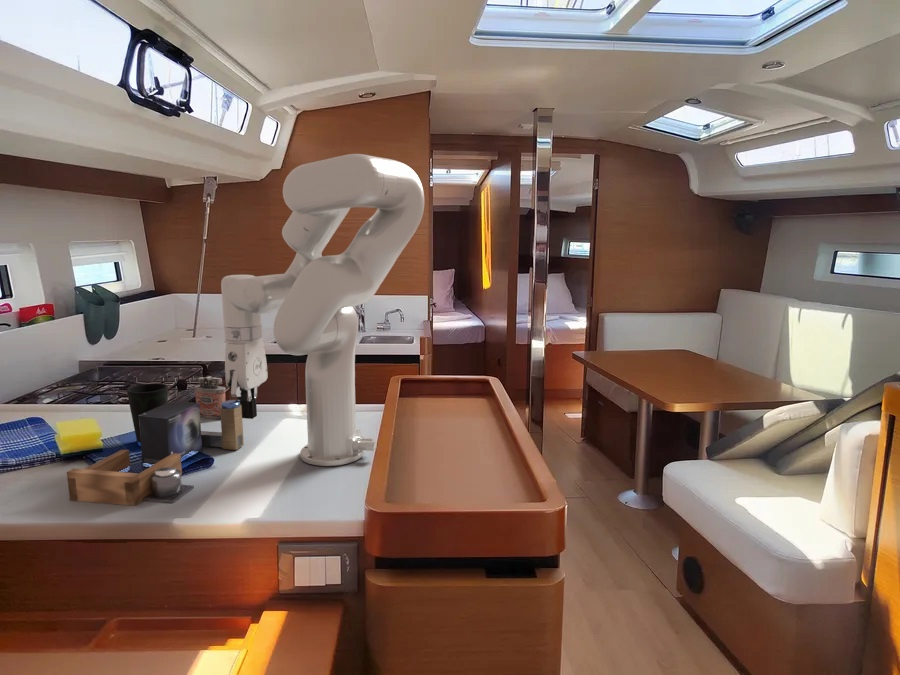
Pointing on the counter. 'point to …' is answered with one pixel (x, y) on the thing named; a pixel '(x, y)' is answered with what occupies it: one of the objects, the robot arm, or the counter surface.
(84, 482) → the bay
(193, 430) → the small box
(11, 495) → the counter surface
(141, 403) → the cup
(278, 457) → the counter surface
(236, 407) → the container
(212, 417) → the lighter
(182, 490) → the drum
